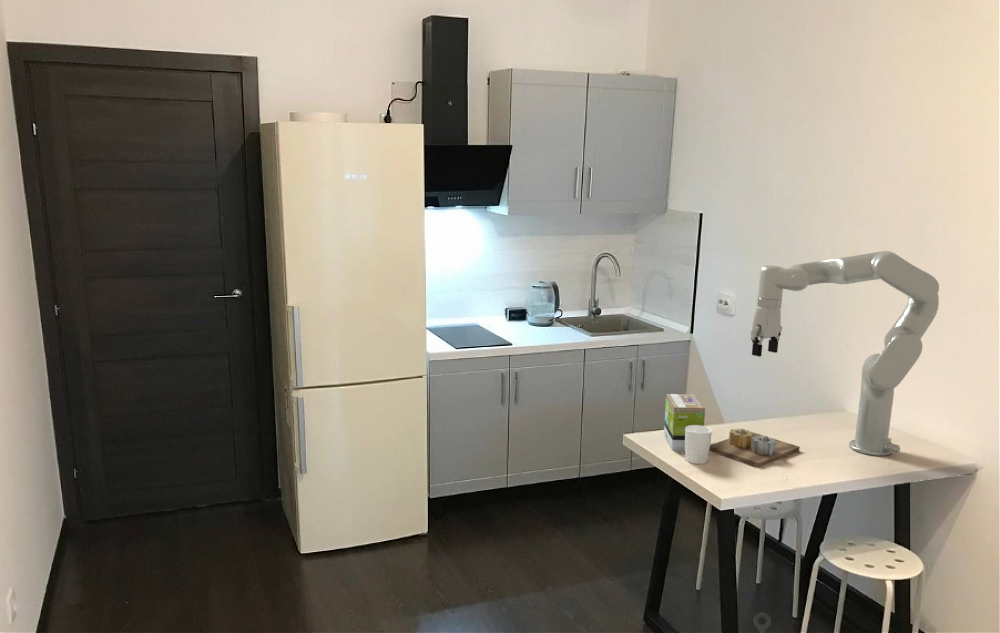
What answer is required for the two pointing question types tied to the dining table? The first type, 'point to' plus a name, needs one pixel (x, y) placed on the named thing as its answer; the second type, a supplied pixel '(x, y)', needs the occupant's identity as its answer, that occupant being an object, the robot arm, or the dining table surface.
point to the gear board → (748, 456)
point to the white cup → (697, 443)
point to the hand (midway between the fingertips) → (764, 353)
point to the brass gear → (740, 438)
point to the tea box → (681, 417)
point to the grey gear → (763, 446)
